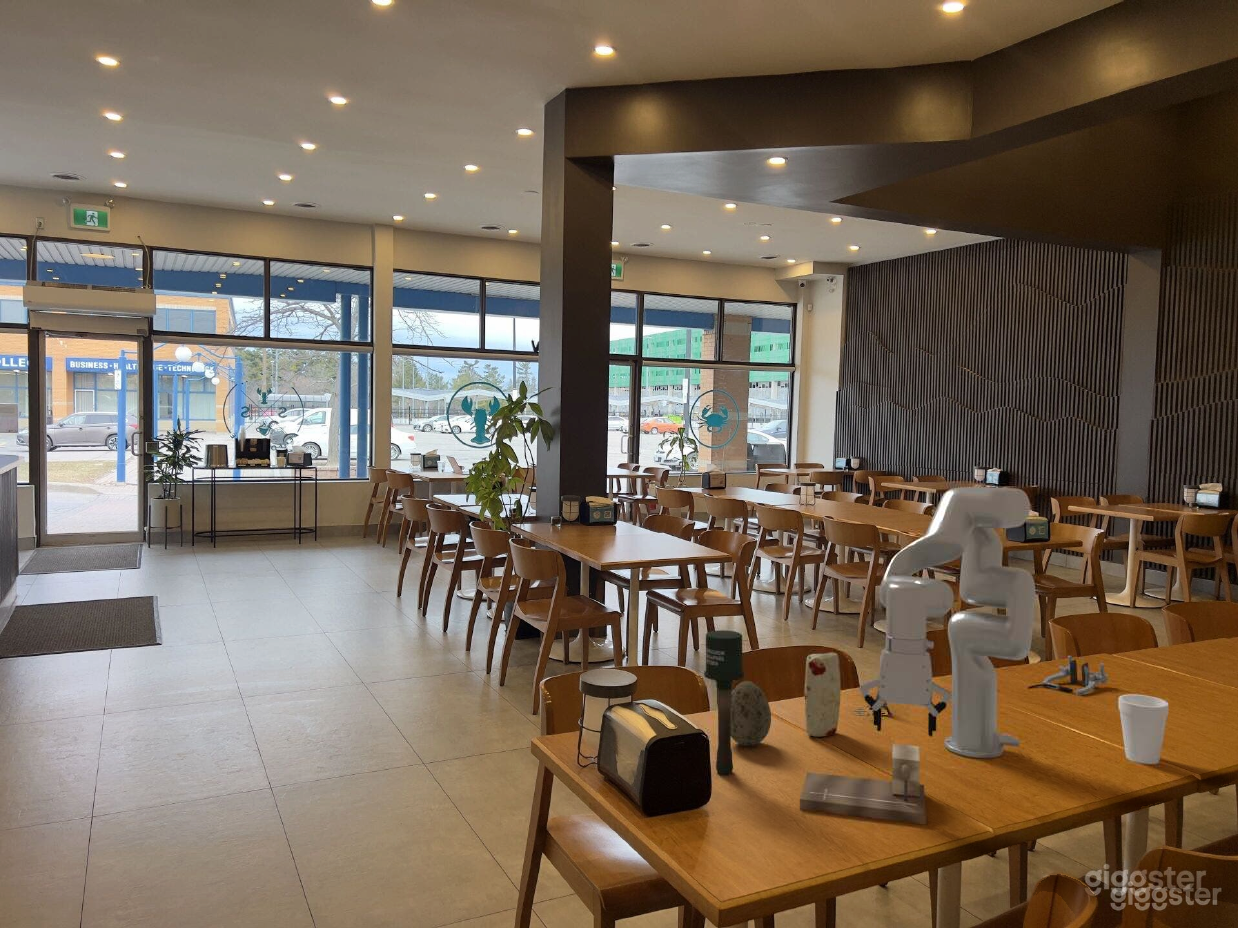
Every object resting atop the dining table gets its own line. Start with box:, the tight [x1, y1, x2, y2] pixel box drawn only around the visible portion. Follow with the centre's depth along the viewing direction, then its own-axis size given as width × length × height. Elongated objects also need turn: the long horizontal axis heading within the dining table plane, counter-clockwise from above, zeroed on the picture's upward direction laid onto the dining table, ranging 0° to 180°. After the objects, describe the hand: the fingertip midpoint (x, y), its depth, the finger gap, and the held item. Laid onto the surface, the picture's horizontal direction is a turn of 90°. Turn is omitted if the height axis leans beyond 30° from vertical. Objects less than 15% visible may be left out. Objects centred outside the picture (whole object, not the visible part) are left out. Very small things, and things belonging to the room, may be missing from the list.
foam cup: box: [1118, 693, 1169, 765], centre depth 194 cm, size 10×9×13 cm
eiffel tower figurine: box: [853, 691, 894, 722], centre depth 228 cm, size 15×10×13 cm
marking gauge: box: [891, 743, 920, 802], centre depth 172 cm, size 5×13×9 cm, turn 162°
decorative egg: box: [731, 680, 772, 747], centre depth 205 cm, size 11×11×15 cm
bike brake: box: [1027, 655, 1109, 697], centre depth 247 cm, size 14×7×20 cm
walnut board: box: [799, 771, 927, 825], centre depth 173 cm, size 23×14×2 cm, turn 72°
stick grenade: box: [703, 629, 745, 776], centre depth 188 cm, size 8×9×30 cm
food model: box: [803, 652, 841, 738], centre depth 211 cm, size 10×7×20 cm
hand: (904, 731), depth 173 cm, fingers open, 9 cm apart
